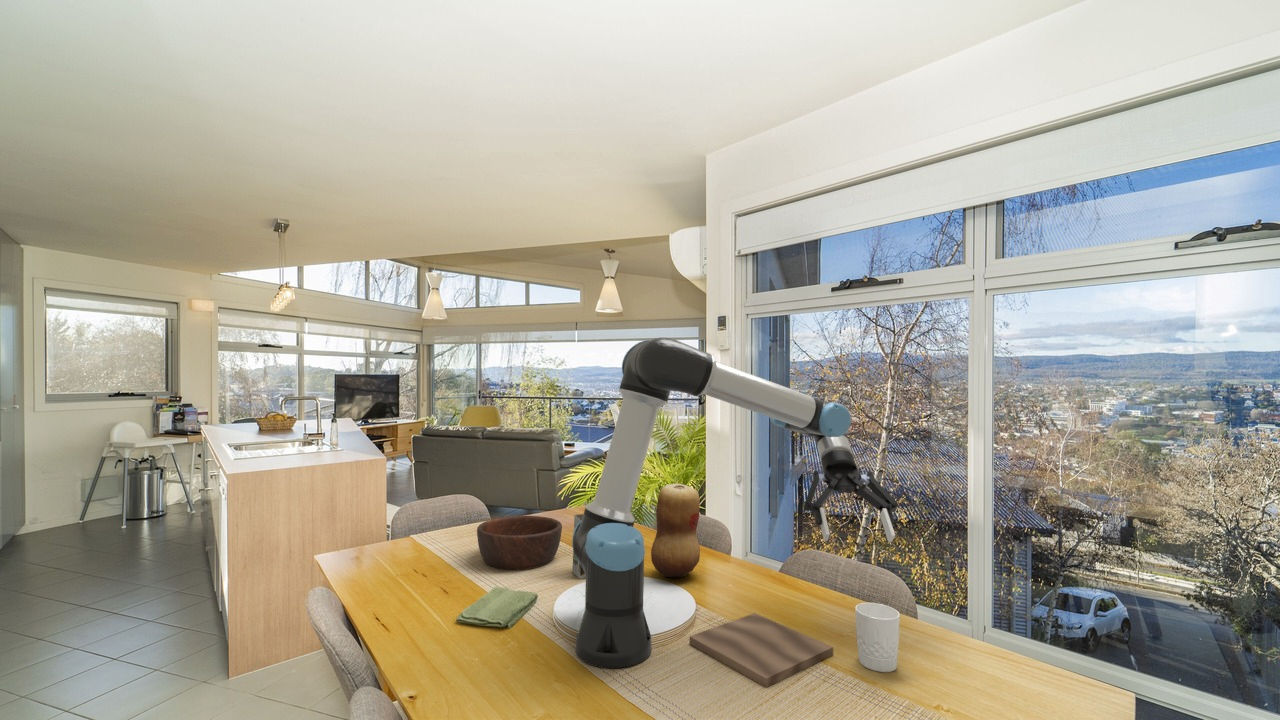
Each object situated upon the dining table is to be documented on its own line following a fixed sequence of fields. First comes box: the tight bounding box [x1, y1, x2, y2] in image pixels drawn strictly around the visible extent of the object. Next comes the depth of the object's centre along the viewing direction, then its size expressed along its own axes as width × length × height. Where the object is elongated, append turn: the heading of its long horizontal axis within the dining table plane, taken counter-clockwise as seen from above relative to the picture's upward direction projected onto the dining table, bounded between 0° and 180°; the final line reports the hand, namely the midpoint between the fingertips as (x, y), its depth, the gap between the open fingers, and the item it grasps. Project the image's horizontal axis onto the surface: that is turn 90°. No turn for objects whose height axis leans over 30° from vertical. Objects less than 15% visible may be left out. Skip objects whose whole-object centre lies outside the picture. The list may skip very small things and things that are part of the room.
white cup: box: [854, 602, 901, 673], centre depth 106 cm, size 8×8×10 cm
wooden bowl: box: [476, 515, 563, 570], centre depth 166 cm, size 25×25×10 cm
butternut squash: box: [650, 483, 701, 579], centre depth 153 cm, size 14×13×25 cm
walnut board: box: [689, 612, 834, 688], centre depth 111 cm, size 20×20×2 cm
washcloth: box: [455, 586, 539, 629], centre depth 127 cm, size 13×18×3 cm
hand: (859, 538), depth 117 cm, fingers open, 13 cm apart
